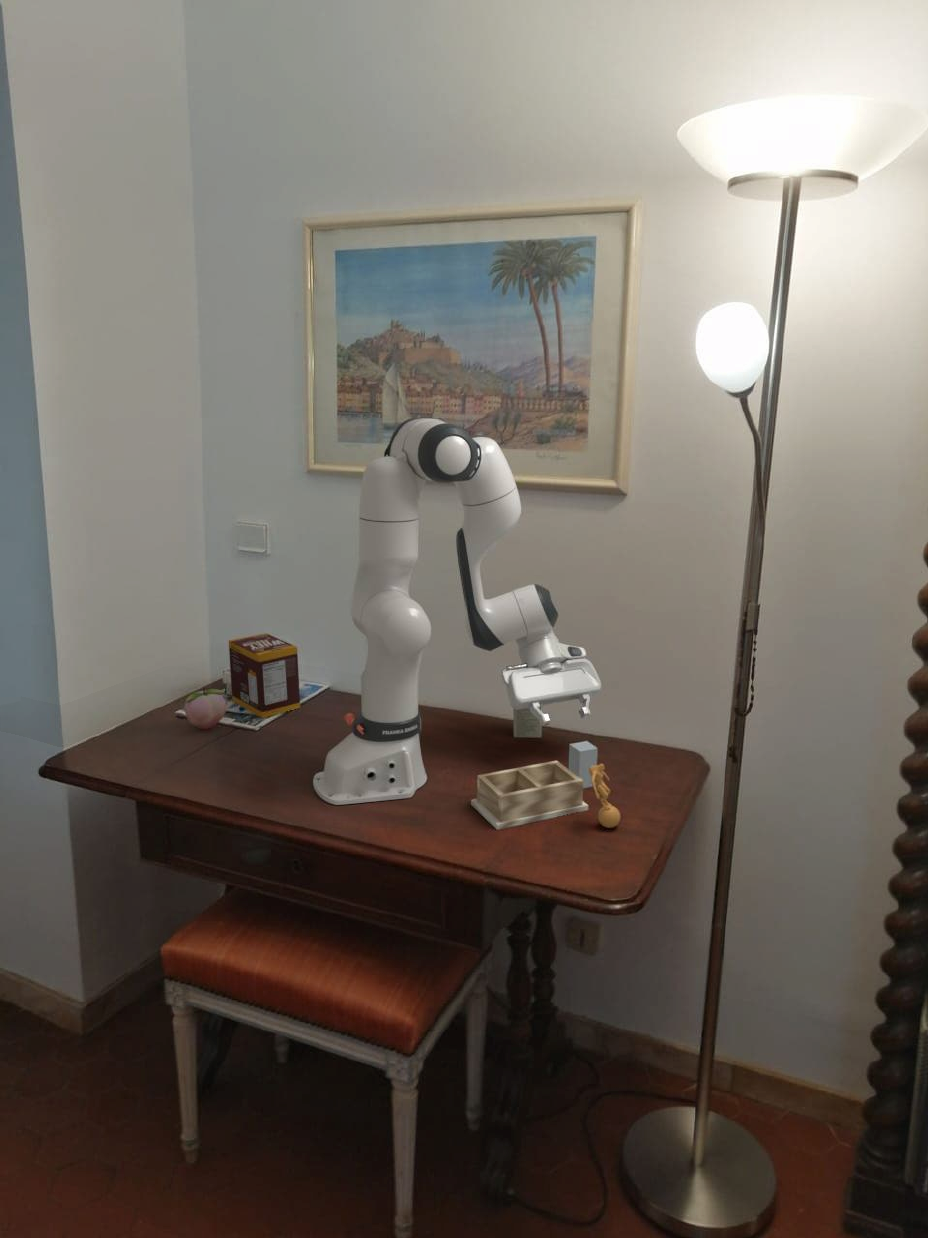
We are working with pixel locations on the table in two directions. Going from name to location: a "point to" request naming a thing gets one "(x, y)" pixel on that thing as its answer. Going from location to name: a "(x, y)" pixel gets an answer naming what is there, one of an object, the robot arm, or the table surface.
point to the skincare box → (526, 724)
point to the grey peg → (582, 760)
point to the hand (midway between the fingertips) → (566, 720)
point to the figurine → (604, 797)
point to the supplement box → (264, 674)
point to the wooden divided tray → (528, 794)
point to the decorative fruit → (205, 708)
